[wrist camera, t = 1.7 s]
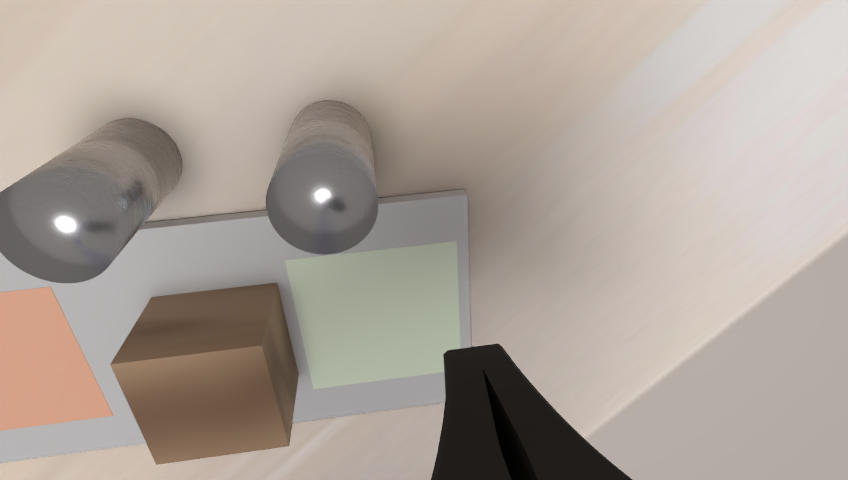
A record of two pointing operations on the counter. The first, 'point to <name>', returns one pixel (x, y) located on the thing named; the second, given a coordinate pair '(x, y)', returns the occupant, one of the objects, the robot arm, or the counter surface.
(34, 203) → the metal peg
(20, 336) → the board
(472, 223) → the counter surface
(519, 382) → the robot arm
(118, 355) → the walnut block
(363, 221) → the metal peg
